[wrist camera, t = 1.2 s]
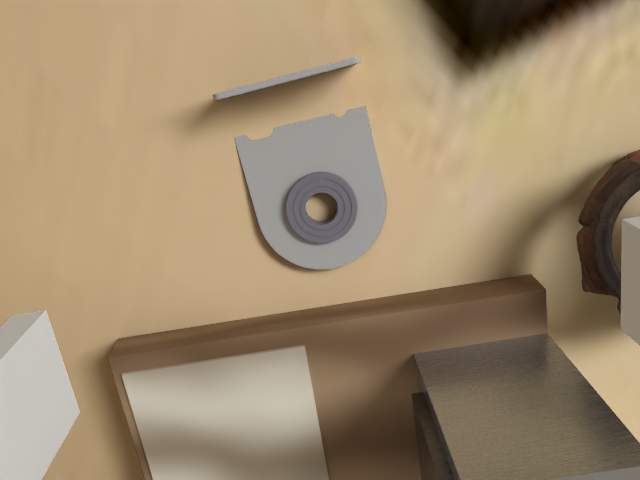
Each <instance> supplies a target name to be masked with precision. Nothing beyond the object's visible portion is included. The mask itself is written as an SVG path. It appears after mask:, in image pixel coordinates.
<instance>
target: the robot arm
mask: <svg viewBox="0 0 640 480" xmlns="http://www.w3.org/2000/svg"><path fill="white" fill-rule="evenodd" d="M621 329H622V330H623V331H624V332H625V333H626V334H628V335H629V336H630V337H631V338H632V339H633V340H634V341H635V342H637V343H638V344H639V345H640V216H638V217H632V218H625V219H622V250H621ZM79 413H80V411H79V408H78V405H77V402H76V399H75V396H74V393H73V390H72V387H71V384H70V380H69V377H68V374H67V371H66V368H65V365H64V362H63V359H62V356H61V353H60V350H59V347H58V344H57V341H56V338H55V335H54V332H53V329H52V326H51V323H50V320H49V317H48V314H47V311H46V310H41V311H34V312H28V313H22V314H15V315H12V316H11V317H10V318H9V319H8V320H7V321H6V322H5V323H4V324H3V325H2V326H1V327H0V480H42V478H43V476H44V475H45V473H46V471H47V469H48V468H49V466H50V464H51V462H52V461H53V459H54V457H55V455H56V454H57V452H58V450H59V448H60V447H61V445H62V443H63V441H64V439H65V438H66V436H67V434H68V432H69V431H70V429H71V427H72V425H73V424H74V422H75V420H76V418H77V417H78V415H79Z"/></svg>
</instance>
